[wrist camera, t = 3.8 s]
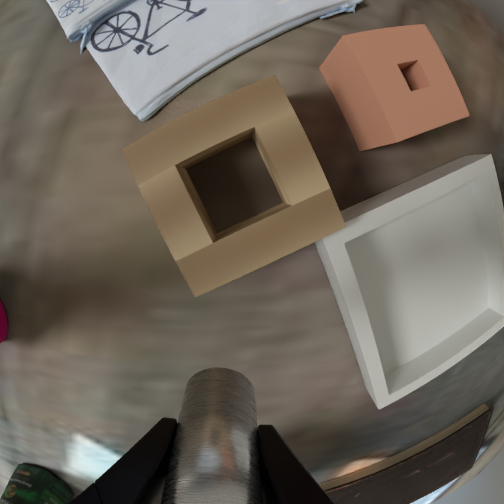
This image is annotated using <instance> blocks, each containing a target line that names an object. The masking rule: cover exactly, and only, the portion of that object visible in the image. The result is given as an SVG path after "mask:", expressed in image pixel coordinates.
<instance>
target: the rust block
mask: <svg viewBox="0 0 504 504" xmlns="http://www.w3.org/2000/svg"><path fill="white" fill-rule="evenodd" d="M319 69H320V71H321V73H322V75H323V76H324V78H325V80H326V82H327V84H328V86H329V88H330V90H331V92H332V94H333V95H334V97H335V99H336V101H337V103H338V105H339V108H340V110H341V112H342V114H343V116H344V118H345V120H346V122H347V124H348V127H349V129H350V131H351V133H352V135H353V138H354V140H355V142H356V144H357V147H358V149H359V151H364V150H368V149H372V148H376V147H380V146H384V145H388V144H393V143H397V142H400V141H402V140H405V139H407V138H410V137H413V136H415V135H418V134H421V133H423V132H426V131H429V130H431V129H434V128H437V127H440V126H442V125H445V124H448V123H451V122H454V121H456V120H459V119H462V118H465V117H468V116H470V115H469V112H468V110H467V107H466V105H465V102H464V100H463V97H462V95H461V93H460V90H459V88H458V86H457V84H456V82H455V79H454V77H453V75H452V73H451V71H450V69H449V67H448V65H447V63H446V61H445V59H444V57H443V55H442V53H441V52H440V50H439V48H438V46H437V44H436V43H435V41H434V39H433V37H432V36H431V34H430V32H429V31H428V29H427V27H426V26H425V24H420V25H408V26H399V27H390V28H383V29H376V30H370V31H364V32H359V33H353V34H348V35H343V36H342V38H341V39H340V40H339V42H338V43H337V44H336V46H335V47H334V48H333V50H332V51H331V52H330V54H329V55H328V57H327V58H326V59H325V61H324V62H323V63H322V65H321V66H320V68H319Z"/></svg>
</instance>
